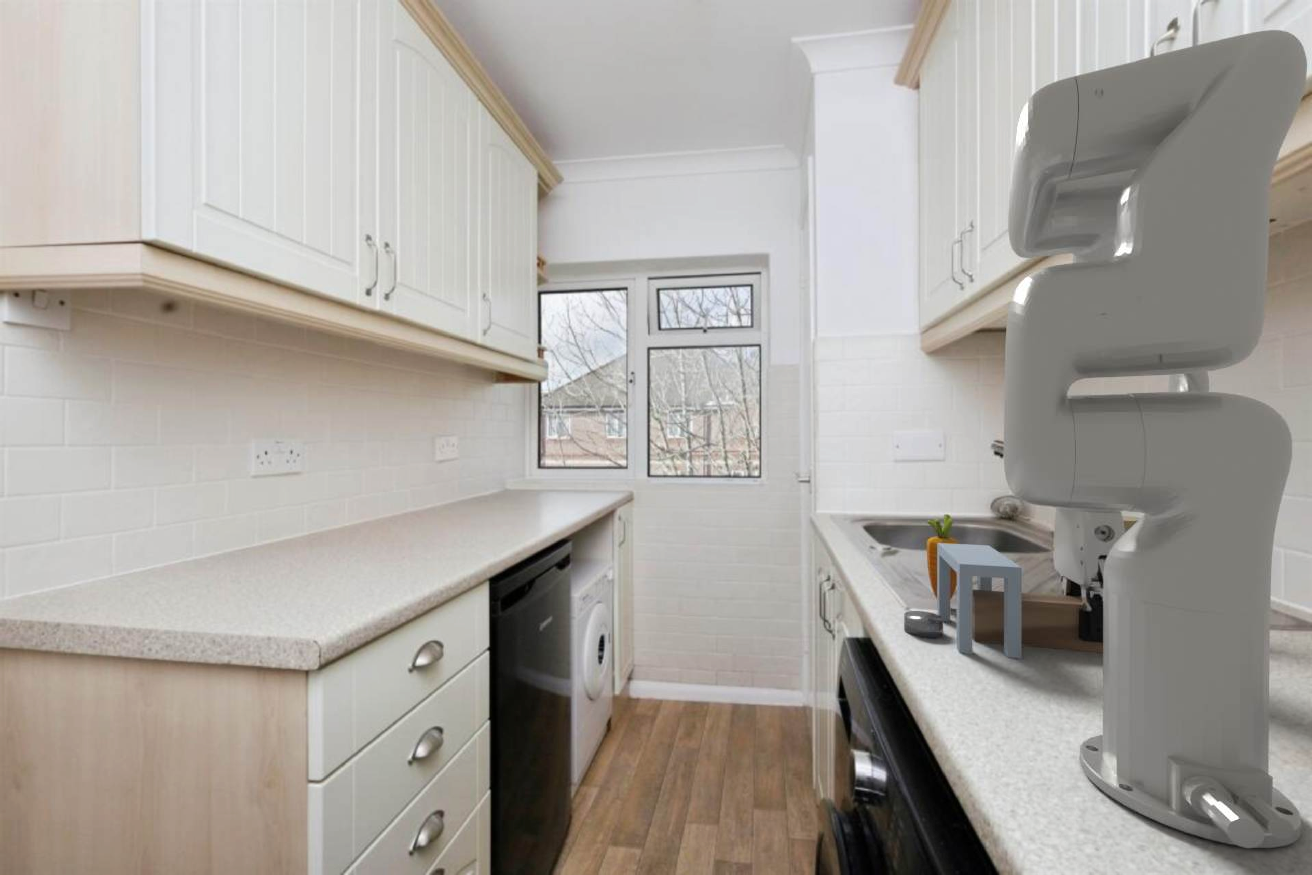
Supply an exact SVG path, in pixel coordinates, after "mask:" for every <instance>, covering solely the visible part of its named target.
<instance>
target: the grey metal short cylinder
mask: <svg viewBox="0 0 1312 875" xmlns="http://www.w3.org/2000/svg"><path fill="white" fill-rule="evenodd" d="M903 614H904V615H903V616H904V621H903V624H904V626H903V627H904V628H903V631H904V632H905V633H906V634H908V635H910V636H912V637H914V638H915V637H916V638H920V639H928V640H935V639H938V640H939V639H941V638H943V637H944V621H943V618H942V617H941V616H939V615H937V613H936V614H935V613H933V612H929V611H922V610H909V611H905V612H904V613H903Z"/></svg>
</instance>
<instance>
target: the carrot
mask: <svg viewBox="0 0 1312 875" xmlns="http://www.w3.org/2000/svg"><path fill="white" fill-rule="evenodd" d="M926 523H927V524H928V525H930V526H931V527H932V528H933V530H934V531H935V533H936V535H937V536H932V537H930V538H929V539H927V540H926V562H927V563H926V564H927V572H928V577H929V581H930V587H931V589H932V591H933V594H934V596H935V598H936V599H937V543H948V544H961V543H960V542H959V541H958V540H956V539H955V538H954V537H950V536H949V534H950V530H951V527H952V525H953V524H954V521H953V519H951V516H950V514H946V513H945V514H944V515H943V526H942V523H941V522H940V520H939V518H936V519H934V521H933V520H932V519H929V520H927V522H926ZM956 591H957V572H956V571H955V570H954V569H953V568H952V567H951V566H950V601H951V600H952V598H953V597H954V594H955V592H956Z"/></svg>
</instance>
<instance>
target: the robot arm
mask: <svg viewBox="0 0 1312 875" xmlns="http://www.w3.org/2000/svg"><path fill="white" fill-rule="evenodd" d="M1307 71H1308V58H1307V55H1306V52H1305V48H1304V45H1303V44H1302V42H1301V41H1300V39H1299V38H1298V37H1296V36H1295V35H1294V34H1293V33H1291V32H1288V31H1285V30H1279V29H1273V30H1272V29H1269V30H1261V31H1254V32H1250V33H1249V32H1248V33H1245V34H1239V35H1235V36H1231V37H1226V38H1222V39H1217V40H1212V41H1209V42H1205V43H1201V44H1196V45H1193V46H1189V47H1188V46H1187V47H1184V48H1181V49H1176V50H1172V51H1169V52H1163V53H1160V54H1157V55H1152V56H1149V57H1146V58H1145V57H1144V58H1142V59H1138V60H1134V61H1131V62H1127V63H1124V64H1119V65H1115V66H1112V67H1107V68H1103V69H1098V70H1095V71H1091V72H1087V73H1083V74H1079V75H1078V74H1077V75H1075V76H1071V77H1066V78H1063V79H1058V80H1056V81H1054V82H1051V83H1049V84H1046V85H1045V86H1043V87H1042V88H1039V89H1038V90H1037V91H1036V92H1034V93H1033V94H1032V96H1030V97H1029V99H1028V100H1027V101H1026V103H1025V104H1024V106H1023V109H1022V111H1021V113H1020V117H1019V120H1018V124H1017V127H1016V128H1017V129H1016V130H1017V131H1016V138H1015V144H1014V145H1015V146H1014V153H1013V154H1014V155H1013V163H1012V164H1013V165H1012V173H1011V180H1010V181H1011V183H1010V190H1009V198H1008V209H1007V210H1008V213H1007V214H1008V215H1007V231H1008V239H1009V243H1010V245H1011V249H1012V251H1013V252H1014V253H1015V255H1016V256H1018V257H1020V258H1023V259H1024V258H1025V259H1033V258H1034V259H1035V258H1043V257H1048V256H1049V257H1050V256H1059V255H1066V254H1067V255H1068V254H1072V263H1064V264H1058V265H1052V266H1048V267H1044V268H1041V269H1039V270H1036V271H1034V272H1032V273H1030V274H1029V275H1028V276H1026V277H1025V278H1024V279H1023V280H1021V281H1020V283H1019V285H1018V286H1017V287H1016V289H1015V290H1014V293H1013V294H1012V295H1013V296H1012V299H1011V301H1010V304H1009V308H1008V313H1007V321H1006V332H1005V342H1004V343H1005V344H1004V345H1005V348H1004V351H1005V352H1004V353H1005V354H1004V355H1005V356H1004V401H1003V402H1004V403H1003V404H1004V407H1003V410H1004V411H1003V412H1004V414H1003V415H1004V416H1003V465H1004V466H1003V467H1004V473H1005V479H1006V483H1007V485H1008V487H1009V490H1010V491H1011V493H1012V494H1013V496H1015V497H1016V498H1017V499H1019V500H1020V501H1022V502H1025V503H1028V504H1031V505H1035V506H1040V507H1041V506H1043V507H1050V508H1051V507H1052V508H1055V516H1054V525H1053V540H1052V541H1053V545H1052V547H1053V548H1052V554H1053V555H1052V556H1053V557H1052V558H1053V560H1052V561H1053V566H1054V569H1055V571H1056V572H1057V573H1058V574H1059V575H1060V581H1061V583H1062V584H1061V595H1063V596H1079V597H1082V606H1083V609H1079V638H1080V639H1081V640H1082V641H1088V642H1100V643H1103V652H1102V734H1100V735H1095V736H1092V737H1090V738H1088V739H1086V740H1084V741H1083V742H1082V743H1081V745H1080V746H1079V764H1080V767H1081V769H1082V771H1083V772H1084V774H1085V775H1086V777H1087V778H1088V779H1089V780H1090V781H1091V782H1092V783H1093V784H1095V786H1096V787H1098V789H1100V790H1101V791H1103V793H1105V795H1108V796H1109V797H1111V798H1112V799H1114V800H1115V801H1117V802H1119V803H1120V804H1122V805H1123V806H1126V807H1127V808H1129V809H1131V810H1132V811H1134V812H1136V813H1139V814H1140V815H1141V816H1144V817H1146V818H1149V819H1151V820H1153V821H1155V822H1158V823H1159V824H1162V825H1164V826H1167V827H1170V828H1172V829H1174V830H1177V831H1180V832H1183V833H1186V834H1190V835H1192V836H1196V837H1199V838H1202V839H1206V840H1210V841H1214V842H1219V843H1222V844H1226V845H1230V846H1231V845H1232V846H1238V847H1241V848H1244V849H1253V848H1257V849H1259V848H1262V849H1272V848H1280V847H1285V846H1290V844H1293V843H1295V842H1297V841H1298V839H1299V838H1300V836H1301V835H1302V833H1301V832H1302V817H1301V815H1300V811H1299V810H1298V809H1297V807H1296V806H1295V804H1294V803H1293V802H1292V801H1291V799H1289V798H1288V797H1287V796H1286V795H1285V794H1283V793H1282V792H1281V791H1280V790H1279V789H1278V788H1276V787H1274V778H1273V776H1272V775H1270V774H1269V768H1270V767H1269V766H1270V765H1269V763H1270V762H1269V760H1270V759H1269V758H1270V757H1269V755H1270V754H1269V750H1270V749H1269V747H1270V742H1269V741H1270V643H1271V641H1270V637H1271V636H1270V633H1271V632H1270V631H1271V630H1270V628H1271V627H1270V626H1271V624H1270V623H1271V614H1270V613H1271V600H1272V599H1271V598H1272V597H1271V596H1272V595H1271V594H1272V593H1271V592H1272V567H1273V566H1272V565H1273V564H1272V562H1273V552H1274V551H1273V550H1274V540H1275V532H1276V526H1277V522H1278V516H1279V511H1280V506H1281V502H1282V499H1283V495H1284V492H1285V488H1286V485H1287V481H1288V478H1289V473H1290V470H1291V464H1292V463H1291V462H1292V460H1293V437H1292V434H1291V430H1290V427H1289V425H1288V424H1287V422H1286V420H1285V418H1284V417H1283V416H1282V415H1281V414H1280V413H1279V412H1278V411H1277V410H1275V408H1273V407H1272V406H1270V405H1269V404H1267V403H1265V402H1262V401H1260V400H1258V399H1255V398H1253V397H1252V398H1251V397H1248V396H1244V395H1241V394H1235V393H1226V392H1218V391H1217V392H1216V391H1210V380H1209V372H1213V371H1218V370H1222V369H1226V368H1231V367H1233V366H1235V365H1237V364H1240V363H1241V362H1243V361H1245V360H1246V359H1248V358H1249V357H1250V356H1251V354H1252V353H1253V352H1254V350H1255V349H1256V347H1258V344H1259V341H1260V339H1261V336H1262V333H1263V328H1264V322H1265V314H1266V306H1267V305H1266V304H1267V292H1268V291H1267V287H1268V286H1267V285H1268V284H1267V283H1268V267H1269V266H1268V265H1269V264H1268V263H1269V261H1268V260H1269V240H1270V239H1269V238H1270V237H1269V235H1270V217H1271V216H1270V214H1271V210H1270V209H1271V205H1270V204H1271V186H1272V179H1273V173H1274V169H1275V166H1276V163H1277V161H1278V158H1279V154H1280V150H1281V148H1282V147H1283V143H1284V141H1285V139H1286V137H1287V134H1288V133H1289V130H1290V128H1291V127H1292V124H1293V121H1294V120H1295V117H1296V115H1297V112H1298V110H1299V108H1300V104H1301V102H1302V99H1303V97H1304V96H1303V95H1304V92H1305V90H1306V89H1305V88H1306V84H1307ZM1144 376H1145V377H1147V376H1149V377H1150V376H1169V377H1168V378H1169V380H1168V387H1167V391H1163V392H1162V391H1161V392H1159V391H1158V392H1129V393H1128V392H1127V393H1120V394H1119V393H1118V394H1086V395H1085V394H1083V395H1081V394H1080V395H1079V394H1078V395H1068V392H1069V390H1070V388H1071V386H1072V385H1073V384H1074V383H1076V382H1077V381H1080V380H1083V379H1093V378H1118V377H1119V378H1120V377H1121V378H1123V377H1125V378H1126V377H1144ZM1123 511H1125V512H1130V513H1140V514H1142V517H1139V518H1140V519H1139V520H1138V521H1137V522H1136V523H1135V524H1134V525H1133V526H1132V527H1131V528H1130V529H1129V530H1128V531H1127V532H1126V533H1125V528H1124V522H1123V517H1122V516H1123V513H1122V512H1123ZM1093 582H1094V583H1098V584H1099V586H1094V585H1093ZM1091 592H1095V593H1094V594H1093V595H1092V598H1091ZM1096 592H1097V593H1096Z"/></svg>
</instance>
